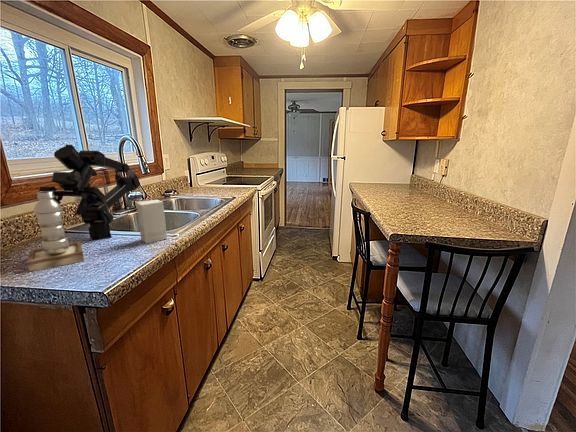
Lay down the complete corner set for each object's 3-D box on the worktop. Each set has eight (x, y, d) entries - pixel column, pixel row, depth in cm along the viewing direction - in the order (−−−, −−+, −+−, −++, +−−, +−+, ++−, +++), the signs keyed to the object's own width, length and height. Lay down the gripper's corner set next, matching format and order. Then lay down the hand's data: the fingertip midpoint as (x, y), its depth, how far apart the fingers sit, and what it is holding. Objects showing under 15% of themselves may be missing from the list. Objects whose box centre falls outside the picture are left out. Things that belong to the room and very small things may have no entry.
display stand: (81, 249, 97) (80, 241, 96) (84, 260, 87) (82, 252, 87) (32, 257, 89) (30, 249, 88) (29, 271, 79) (27, 262, 79)
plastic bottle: (73, 252, 89) (61, 191, 84) (46, 258, 84) (32, 194, 79) (67, 247, 93) (56, 189, 88) (41, 253, 88) (28, 192, 83)
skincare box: (161, 235, 113) (158, 199, 110) (168, 239, 109) (164, 201, 105) (140, 240, 108) (135, 201, 104) (145, 244, 103) (140, 204, 99)
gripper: (36, 162, 91) (13, 200, 83) (94, 163, 92) (77, 201, 84) (59, 183, 101) (40, 219, 93) (110, 183, 102) (96, 219, 94)
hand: (62, 214), depth 91 cm, fingers open, 9 cm apart
